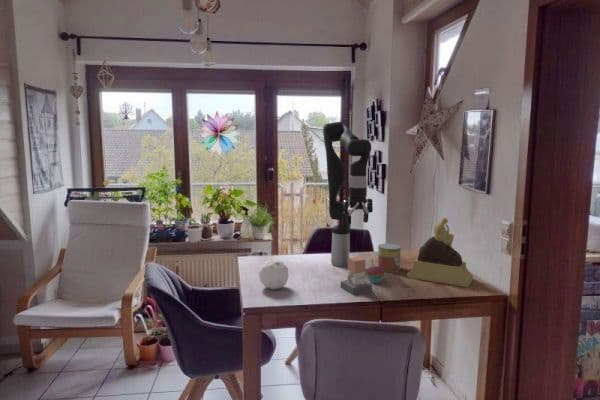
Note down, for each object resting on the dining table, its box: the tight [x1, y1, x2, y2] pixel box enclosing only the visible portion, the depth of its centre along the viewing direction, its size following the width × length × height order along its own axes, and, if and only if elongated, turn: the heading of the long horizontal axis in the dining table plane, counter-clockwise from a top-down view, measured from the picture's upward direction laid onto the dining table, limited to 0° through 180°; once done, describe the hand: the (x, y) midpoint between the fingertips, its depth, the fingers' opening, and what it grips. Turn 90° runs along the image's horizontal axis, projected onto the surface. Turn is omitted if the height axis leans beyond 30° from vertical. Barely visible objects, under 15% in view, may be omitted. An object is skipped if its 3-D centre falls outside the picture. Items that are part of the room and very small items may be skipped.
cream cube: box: [347, 269, 366, 286], centre depth 194 cm, size 6×6×6 cm
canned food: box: [377, 243, 402, 273], centre depth 224 cm, size 11×11×12 cm
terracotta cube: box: [347, 256, 366, 273], centre depth 194 cm, size 6×6×6 cm
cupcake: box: [365, 258, 386, 284], centre depth 205 cm, size 9×8×12 cm
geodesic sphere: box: [258, 258, 290, 290], centre depth 196 cm, size 14×14×14 cm
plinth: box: [340, 279, 373, 295], centre depth 195 cm, size 10×10×3 cm
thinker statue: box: [406, 217, 474, 288], centre depth 209 cm, size 28×13×30 cm, turn 60°
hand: (357, 223), depth 191 cm, fingers open, 8 cm apart
